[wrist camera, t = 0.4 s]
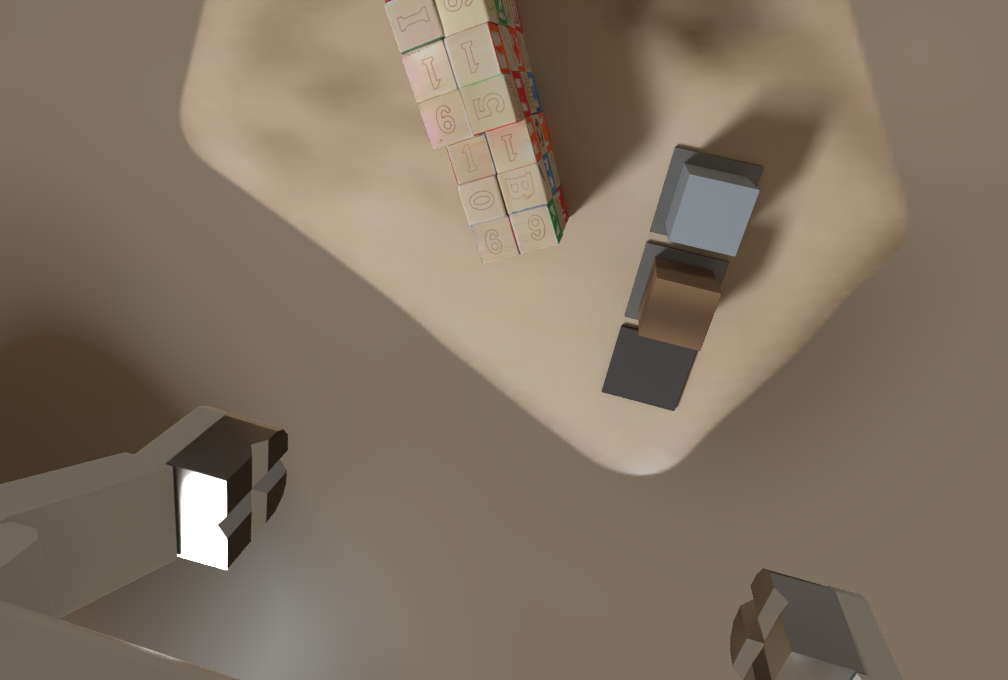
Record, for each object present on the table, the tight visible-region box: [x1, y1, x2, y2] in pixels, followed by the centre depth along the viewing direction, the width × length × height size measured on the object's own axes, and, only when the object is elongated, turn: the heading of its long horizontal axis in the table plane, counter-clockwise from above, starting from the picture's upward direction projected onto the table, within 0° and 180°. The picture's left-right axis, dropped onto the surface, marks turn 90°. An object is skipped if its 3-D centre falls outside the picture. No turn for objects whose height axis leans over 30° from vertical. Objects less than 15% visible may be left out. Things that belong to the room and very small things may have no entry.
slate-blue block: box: [665, 163, 760, 257], centre depth 47 cm, size 5×5×6 cm
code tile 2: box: [650, 147, 763, 236], centre depth 50 cm, size 7×7×1 cm
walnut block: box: [639, 257, 721, 351], centre depth 50 cm, size 5×5×6 cm
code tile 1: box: [625, 242, 729, 320], centre depth 53 cm, size 7×7×1 cm
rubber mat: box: [602, 325, 696, 411], centre depth 57 cm, size 7×7×1 cm
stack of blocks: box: [384, 0, 569, 263], centre depth 45 cm, size 21×6×12 cm, turn 17°
